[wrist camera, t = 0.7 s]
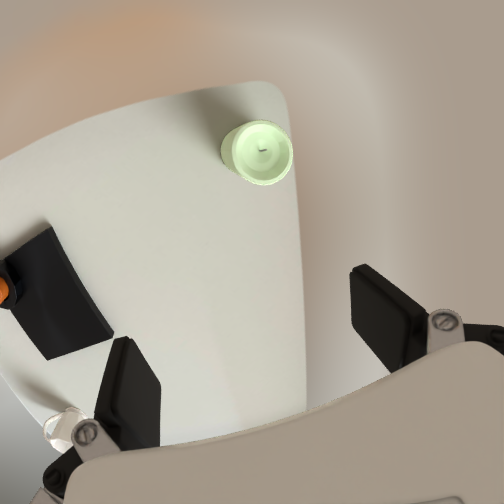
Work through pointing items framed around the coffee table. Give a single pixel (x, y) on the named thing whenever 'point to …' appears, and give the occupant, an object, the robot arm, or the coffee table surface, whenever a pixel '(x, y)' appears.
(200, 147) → the coffee table surface
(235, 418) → the coffee table surface
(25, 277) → the scale
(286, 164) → the candle
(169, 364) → the coffee table surface
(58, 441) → the cup
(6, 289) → the button
